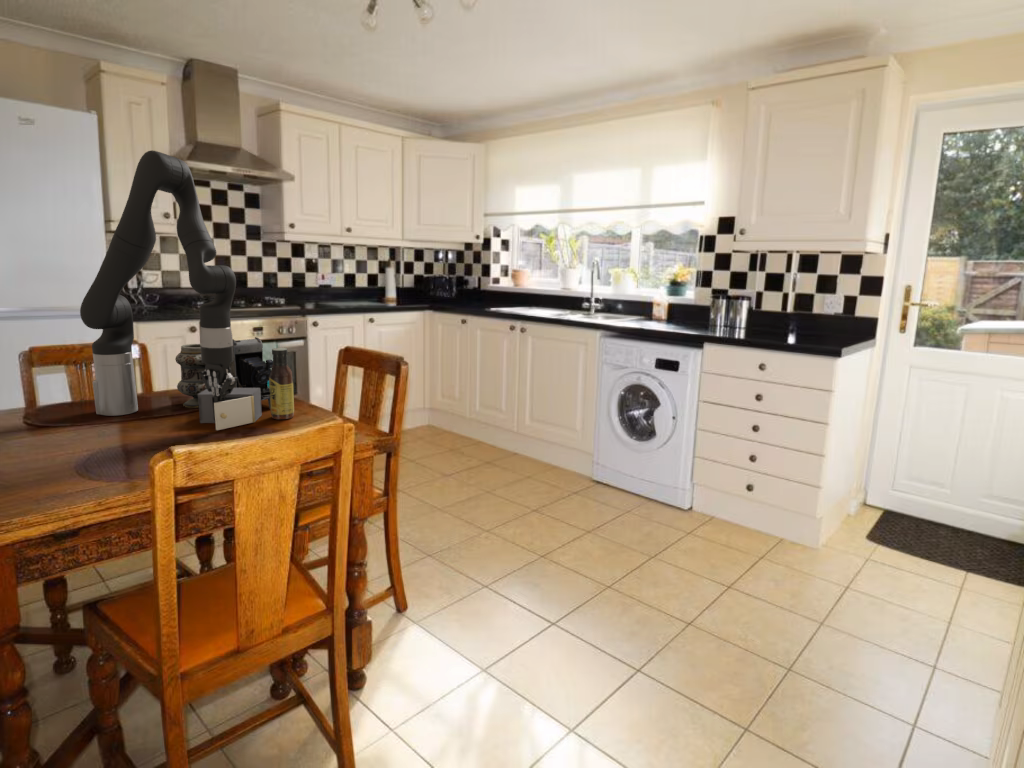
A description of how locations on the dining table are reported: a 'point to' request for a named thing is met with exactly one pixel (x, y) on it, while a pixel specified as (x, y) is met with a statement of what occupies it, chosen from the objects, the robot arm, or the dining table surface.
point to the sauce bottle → (281, 386)
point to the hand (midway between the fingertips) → (220, 408)
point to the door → (234, 412)
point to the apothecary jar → (191, 373)
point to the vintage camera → (251, 366)
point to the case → (208, 400)
